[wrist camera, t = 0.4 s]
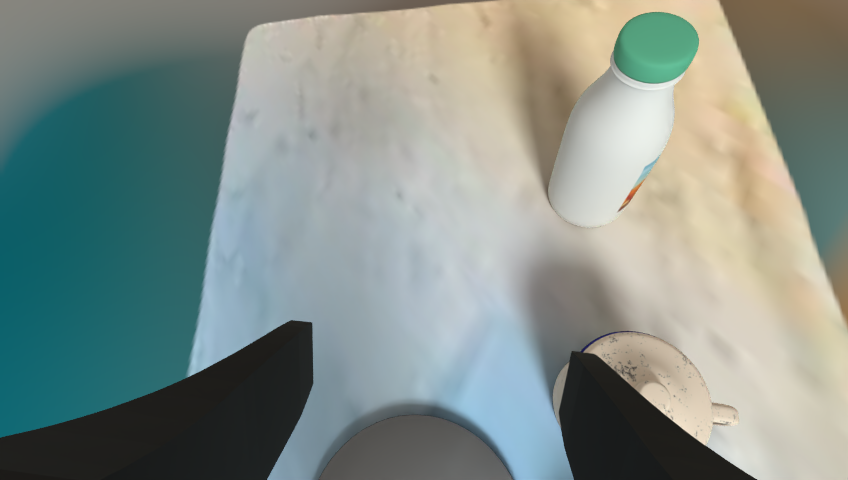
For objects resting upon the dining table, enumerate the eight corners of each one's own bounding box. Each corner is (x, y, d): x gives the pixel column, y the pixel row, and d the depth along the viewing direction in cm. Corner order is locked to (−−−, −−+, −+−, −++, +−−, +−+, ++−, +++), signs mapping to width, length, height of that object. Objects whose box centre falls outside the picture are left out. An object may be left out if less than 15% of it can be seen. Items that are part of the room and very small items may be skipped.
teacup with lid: (546, 454, 36) (575, 467, 25) (550, 343, 39) (577, 313, 28) (705, 480, 34) (809, 507, 23) (694, 361, 37) (782, 336, 26)
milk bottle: (588, 245, 42) (671, 108, 24) (531, 194, 45) (566, 38, 27) (642, 197, 43) (760, 33, 25) (583, 151, 46) (650, -27, 28)
